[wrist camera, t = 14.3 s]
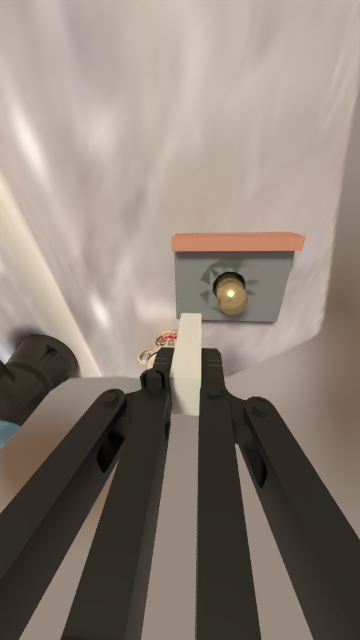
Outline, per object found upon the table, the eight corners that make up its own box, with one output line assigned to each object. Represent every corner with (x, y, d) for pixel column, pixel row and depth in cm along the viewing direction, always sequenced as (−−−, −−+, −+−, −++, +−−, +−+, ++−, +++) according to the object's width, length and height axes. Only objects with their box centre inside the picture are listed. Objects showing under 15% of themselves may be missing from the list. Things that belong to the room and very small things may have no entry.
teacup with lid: (190, 327, 47) (187, 361, 36) (192, 358, 51) (190, 395, 41) (140, 328, 48) (124, 360, 38) (146, 358, 52) (133, 394, 42)
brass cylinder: (214, 291, 42) (217, 314, 33) (215, 269, 40) (219, 287, 31) (236, 292, 41) (246, 315, 33) (239, 270, 39) (250, 288, 30)
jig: (178, 311, 45) (175, 325, 40) (176, 233, 37) (171, 238, 32) (271, 313, 43) (281, 328, 38) (290, 232, 35) (305, 236, 30)
